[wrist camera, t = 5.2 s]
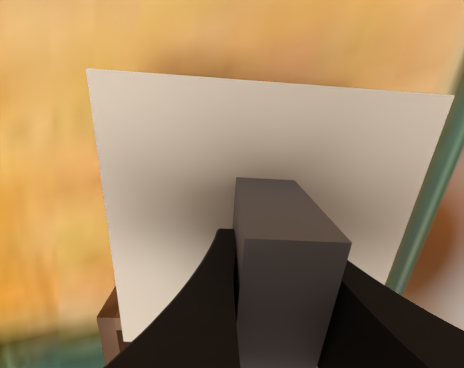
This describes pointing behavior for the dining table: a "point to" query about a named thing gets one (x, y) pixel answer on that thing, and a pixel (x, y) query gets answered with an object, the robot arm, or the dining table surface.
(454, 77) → the dining table surface
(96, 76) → the cream lid
